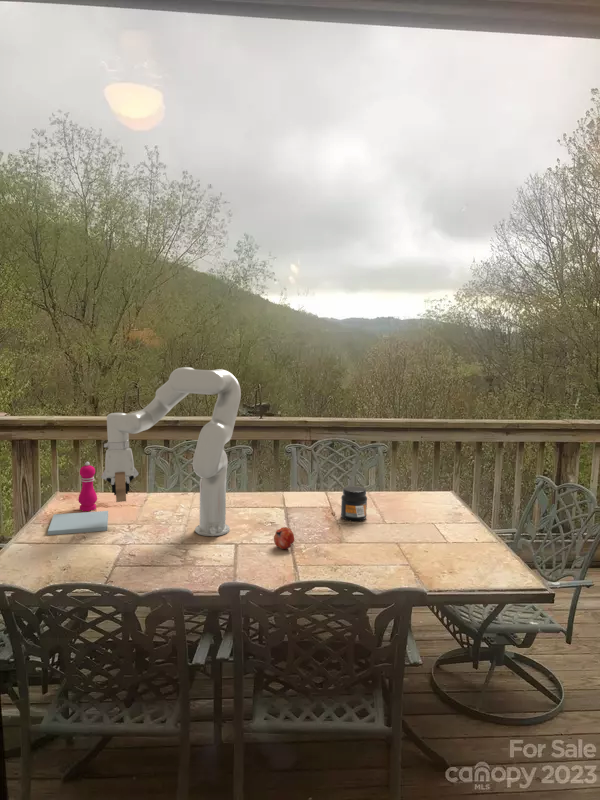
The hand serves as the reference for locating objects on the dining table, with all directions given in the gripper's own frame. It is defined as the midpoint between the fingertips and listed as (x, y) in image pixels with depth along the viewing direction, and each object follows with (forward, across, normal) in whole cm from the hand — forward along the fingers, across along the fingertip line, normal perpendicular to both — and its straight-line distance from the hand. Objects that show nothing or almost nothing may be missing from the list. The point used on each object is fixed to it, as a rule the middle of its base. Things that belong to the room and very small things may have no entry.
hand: (120, 493), depth 207 cm
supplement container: (+16, +90, -13) cm, 92 cm away
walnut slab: (+2, 0, 0) cm, 2 cm away
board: (+12, -15, +5) cm, 20 cm away
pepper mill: (+11, -13, +24) cm, 29 cm away
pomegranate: (+15, +53, -38) cm, 67 cm away
